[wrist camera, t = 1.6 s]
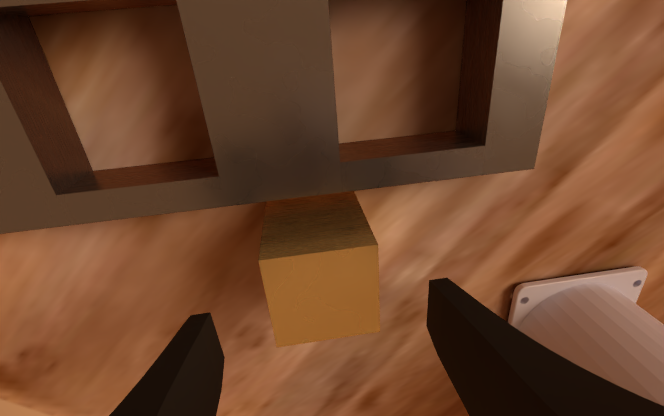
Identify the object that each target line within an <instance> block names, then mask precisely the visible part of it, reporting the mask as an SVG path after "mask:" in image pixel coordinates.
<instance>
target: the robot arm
mask: <svg viewBox="0 0 664 416" xmlns="http://www.w3.org/2000/svg"><path fill="white" fill-rule="evenodd" d="M646 277H647V270H645V269H643V268H642V267H640V266H636V267H629V268H622V269H616V270H609V271H602V272H595V273H589V274H582V275H575V276H568V277H561V278H555V279H548V280H541V281H534V282H527V283H522V284H519V285H518V286H517V287H516V288H515V290H514V294H513V299H512V304H511V308H510V313H509V318H508V322H506V321H505V320H503V319H502V318H500V317H499V316H498V315H496V314H495V313H493V312H492V311H491V310H489V309H488V308H487V307H485V306H484V305H482V304H481V303H480V302H478V301H477V300H476V299H474V298H473V297H472V296H471V295H469V294H468V293H467V292H465V291H464V290H463V289H461V288H460V287H459V286H457V285H456V284H455V283H453V282H452V281H451V280H449V279H448V278H442V279H435V280H429V294H428V310H427V328H428V331H429V334H430V336H431V339H432V342H433V344H434V347H435V349H436V352H437V354H438V356H439V358H440V360H441V362H442V364H443V366H444V368H445V370H446V372H447V374H448V376H449V378H450V380H451V381H452V383H453V385H454V387H455V389H456V391H457V393H458V395H459V397H460V398H461V400H462V402H463V404H464V406H465V408H466V410H467V412H468V414H469V415H470V416H664V324H662V323H661V322H660V321H658V320H657V319H656V318H654V317H653V316H652V315H650V314H649V313H647V312H646V311H645V310H643V309H642V308H641V307H639V306H638V305H637V304H636V301H637V299H638V296H639V294H640V291H641V289H642V287H643V284H644V282H645V279H646ZM223 369H224V354H223V351H222V348H221V345H220V342H219V339H218V335H217V332H216V329H215V326H214V323H213V320H212V317H211V313H203V314H197V315H191V316H190V317H189V318H188V319H187V321H186V322H185V323H184V324H183V326H182V327H181V328H180V330H179V331H178V332H177V334H176V335H175V336H174V338H173V339H172V340H171V342H170V343H169V344H168V346H167V347H166V348H165V349H164V351H163V352H162V353H161V355H160V356H159V357H158V358H157V360H156V361H155V362H154V363H153V365H152V366H151V367H150V368H149V370H148V371H147V372H146V374H145V375H144V376H143V377H142V378H141V380H140V381H139V382H138V383H137V384H136V386H135V387H134V388H133V389H132V390H131V391H130V393H129V394H128V395H127V396H126V397H125V398H124V400H123V401H122V402H121V403H120V404H119V405H118V406H117V408H116V409H115V410H114V411H113V412H112V413H111V414H110V415H109V416H216V413H217V408H218V404H219V399H220V394H221V388H222V379H223Z"/></svg>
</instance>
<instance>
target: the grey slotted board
mask: <svg viewBox="0 0 664 416" xmlns="http://www.w3.org/2000/svg"><path fill="white" fill-rule="evenodd" d="M566 3H567V0H467V4H466V16H465V28H464V40H463V52H462V64H461V76H460V88H459V100H458V112H457V124H456V131H449V132H440V133H431V134H422V135H413V136H404V137H395V138H386V139H377V140H368V141H359V142H350V143H341V144H339V142H338V128H337V114H336V100H335V86H334V73H333V59H332V45H331V31H330V17H329V3H328V0H0V234H3V233H11V232H19V231H28V230H36V229H44V228H52V227H60V226H69V225H77V224H85V223H93V222H101V221H110V220H118V219H126V218H134V217H143V216H151V215H159V214H167V213H175V212H184V211H192V210H200V209H208V208H216V207H225V206H233V205H241V204H249V203H257V202H266V201H274V200H282V199H290V198H298V197H307V196H315V195H323V194H331V193H339V192H348V191H356V190H364V189H372V188H381V187H389V186H397V185H405V184H413V183H422V182H430V181H438V180H446V179H454V178H463V177H471V176H479V175H487V174H495V173H504V172H512V171H520V170H528V169H534V166H535V161H536V156H537V151H538V146H539V141H540V136H541V131H542V126H543V121H544V115H545V110H546V105H547V100H548V95H549V90H550V85H551V80H552V75H553V70H554V65H555V59H556V54H557V49H558V44H559V39H560V34H561V29H562V24H563V19H564V14H565V9H566ZM166 5H178V9H179V13H180V18H181V22H182V26H183V30H184V34H185V38H186V42H187V46H188V50H189V55H190V59H191V63H192V67H193V71H194V75H195V79H196V83H197V87H198V92H199V96H200V100H201V104H202V108H203V112H204V116H205V120H206V124H207V129H208V133H209V137H210V141H211V145H212V149H213V153H214V157H215V158H206V159H197V160H188V161H179V162H170V163H161V164H152V165H143V166H134V167H125V168H116V169H107V170H98V171H93V170H92V168H91V166H90V163H89V161H88V158H87V156H86V154H85V151H84V149H83V147H82V144H81V142H80V139H79V137H78V135H77V132H76V130H75V127H74V125H73V123H72V120H71V118H70V115H69V113H68V111H67V108H66V106H65V103H64V101H63V99H62V96H61V94H60V91H59V89H58V87H57V84H56V82H55V79H54V77H53V75H52V72H51V70H50V67H49V65H48V63H47V60H46V58H45V56H44V53H43V51H42V48H41V46H40V44H39V41H38V39H37V36H36V34H35V32H34V29H33V27H32V24H31V22H30V20H29V17H28V16H38V15H51V14H64V13H76V12H89V11H102V10H115V9H127V8H140V7H153V6H166Z"/></svg>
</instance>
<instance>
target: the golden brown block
mask: <svg viewBox="0 0 664 416" xmlns="http://www.w3.org/2000/svg"><path fill="white" fill-rule="evenodd" d="M258 261H259V266H260V271H261V276H262V280H263V285H264V290H265V294H266V299H267V304H268V308H269V313H270V318H271V322H272V327H273V332H274V336H275V341H276V346H277V347H283V346H289V345H296V344H302V343H309V342H315V341H322V340H328V339H335V338H342V337H348V336H355V335H361V334H368V333H374V332H380V310H379V265H378V243H377V241H376V239H375V237H374V235H373V232H372V230H371V228H370V226H369V224H368V221H367V219H366V217H365V215H364V213H363V210H362V208H361V206H360V204H359V202H358V199H357V197H356V195H355V193H354V191H348V192H339V193H331V194H323V195H315V196H307V197H298V198H290V199H282V200H274V201H266V207H265V214H264V222H263V229H262V237H261V244H260V252H259V259H258Z"/></svg>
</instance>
